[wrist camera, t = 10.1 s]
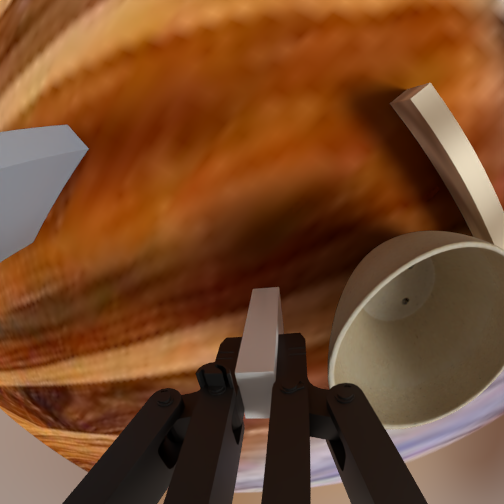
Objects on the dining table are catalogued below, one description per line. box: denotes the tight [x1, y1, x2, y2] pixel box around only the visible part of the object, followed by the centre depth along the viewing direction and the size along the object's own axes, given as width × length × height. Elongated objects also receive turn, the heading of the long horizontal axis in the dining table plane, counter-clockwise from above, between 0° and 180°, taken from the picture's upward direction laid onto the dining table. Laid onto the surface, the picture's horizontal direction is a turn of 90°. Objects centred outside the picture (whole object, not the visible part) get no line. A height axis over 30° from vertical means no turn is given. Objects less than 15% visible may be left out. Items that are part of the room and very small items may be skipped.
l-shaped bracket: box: [390, 83, 504, 250], centre depth 16 cm, size 16×16×3 cm
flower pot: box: [328, 231, 504, 429], centre depth 14 cm, size 10×10×7 cm
